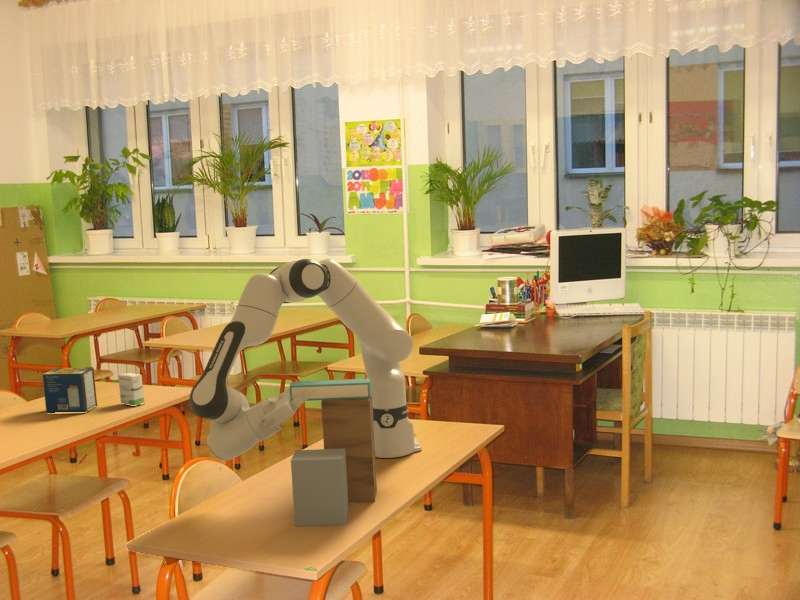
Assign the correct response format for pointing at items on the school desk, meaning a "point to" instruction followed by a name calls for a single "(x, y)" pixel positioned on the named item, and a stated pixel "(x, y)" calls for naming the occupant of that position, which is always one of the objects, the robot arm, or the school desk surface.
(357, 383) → the book
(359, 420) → the bookcase block
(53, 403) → the protein box
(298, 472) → the step
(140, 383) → the ink box
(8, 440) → the school desk surface
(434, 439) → the school desk surface
